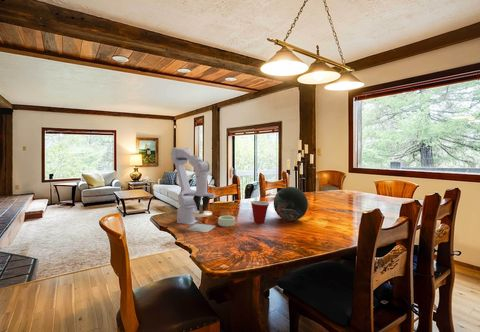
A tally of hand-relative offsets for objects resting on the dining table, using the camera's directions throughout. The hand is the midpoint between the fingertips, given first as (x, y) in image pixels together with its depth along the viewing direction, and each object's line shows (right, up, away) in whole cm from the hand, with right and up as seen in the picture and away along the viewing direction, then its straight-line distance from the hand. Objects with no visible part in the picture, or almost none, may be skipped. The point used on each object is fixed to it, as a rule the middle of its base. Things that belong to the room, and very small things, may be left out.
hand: (201, 210), depth 138 cm
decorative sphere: (+50, -9, +19) cm, 54 cm away
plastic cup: (+31, -9, +14) cm, 35 cm away
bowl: (+13, -9, +8) cm, 18 cm away
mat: (0, -10, +1) cm, 10 cm away
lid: (0, -2, 0) cm, 2 cm away
